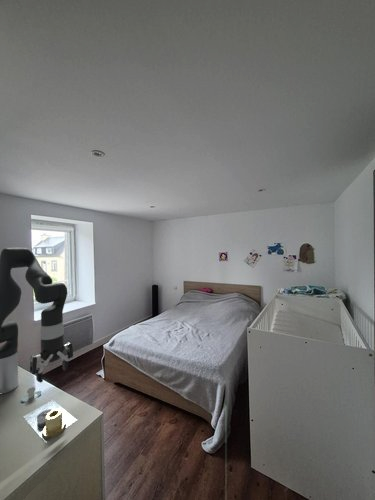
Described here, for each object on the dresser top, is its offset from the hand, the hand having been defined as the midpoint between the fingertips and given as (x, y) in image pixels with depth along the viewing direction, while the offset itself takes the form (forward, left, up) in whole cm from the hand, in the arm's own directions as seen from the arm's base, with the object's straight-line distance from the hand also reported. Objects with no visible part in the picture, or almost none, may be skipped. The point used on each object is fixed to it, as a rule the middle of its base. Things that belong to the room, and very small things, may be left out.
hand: (53, 375), depth 79 cm
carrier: (-4, 0, -20) cm, 20 cm away
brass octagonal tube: (+4, -2, -18) cm, 19 cm away
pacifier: (-26, +1, -20) cm, 33 cm away
